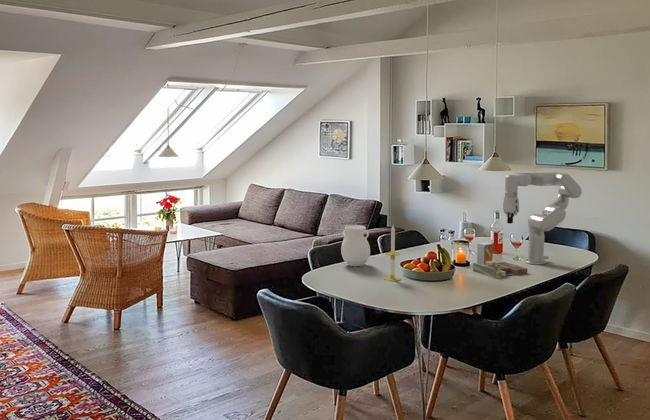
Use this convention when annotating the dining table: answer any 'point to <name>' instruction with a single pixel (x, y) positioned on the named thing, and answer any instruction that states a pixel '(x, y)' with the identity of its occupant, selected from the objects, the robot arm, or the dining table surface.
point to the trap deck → (500, 270)
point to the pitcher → (355, 245)
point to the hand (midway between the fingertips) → (510, 223)
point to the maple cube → (492, 264)
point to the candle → (392, 257)
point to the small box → (484, 252)
